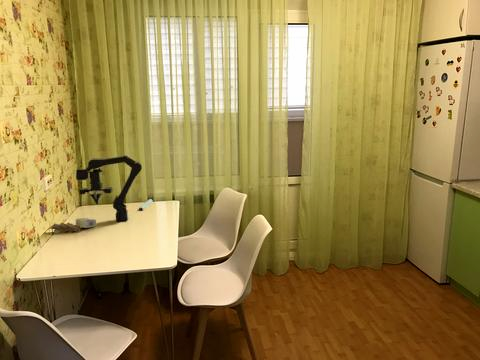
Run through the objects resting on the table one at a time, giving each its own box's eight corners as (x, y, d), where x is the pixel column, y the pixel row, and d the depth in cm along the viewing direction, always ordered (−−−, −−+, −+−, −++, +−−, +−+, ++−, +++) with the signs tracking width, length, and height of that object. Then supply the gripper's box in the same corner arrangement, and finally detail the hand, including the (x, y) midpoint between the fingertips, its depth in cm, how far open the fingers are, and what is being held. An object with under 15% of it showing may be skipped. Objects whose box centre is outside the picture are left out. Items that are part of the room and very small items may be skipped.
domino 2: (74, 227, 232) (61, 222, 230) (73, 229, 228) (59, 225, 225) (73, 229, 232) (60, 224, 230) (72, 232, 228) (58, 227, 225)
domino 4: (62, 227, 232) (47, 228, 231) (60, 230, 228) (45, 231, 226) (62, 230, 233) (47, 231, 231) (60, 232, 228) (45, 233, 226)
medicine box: (86, 220, 230) (75, 218, 234) (85, 228, 230) (74, 225, 234) (96, 219, 237) (86, 217, 241) (95, 227, 237) (85, 225, 241)
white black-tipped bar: (143, 212, 268) (143, 207, 267) (133, 212, 268) (133, 207, 268) (153, 203, 290) (152, 199, 289) (144, 203, 290) (143, 198, 290)
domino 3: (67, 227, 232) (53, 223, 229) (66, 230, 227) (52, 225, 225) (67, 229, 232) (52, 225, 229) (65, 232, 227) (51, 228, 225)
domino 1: (81, 227, 232) (67, 222, 230) (80, 229, 227) (66, 225, 225) (80, 229, 232) (66, 224, 230) (78, 232, 227) (65, 227, 225)
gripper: (113, 176, 247) (115, 200, 251) (82, 177, 245) (85, 201, 249) (109, 179, 237) (111, 205, 240) (77, 180, 235) (80, 206, 238)
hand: (97, 204), depth 242 cm, fingers closed
